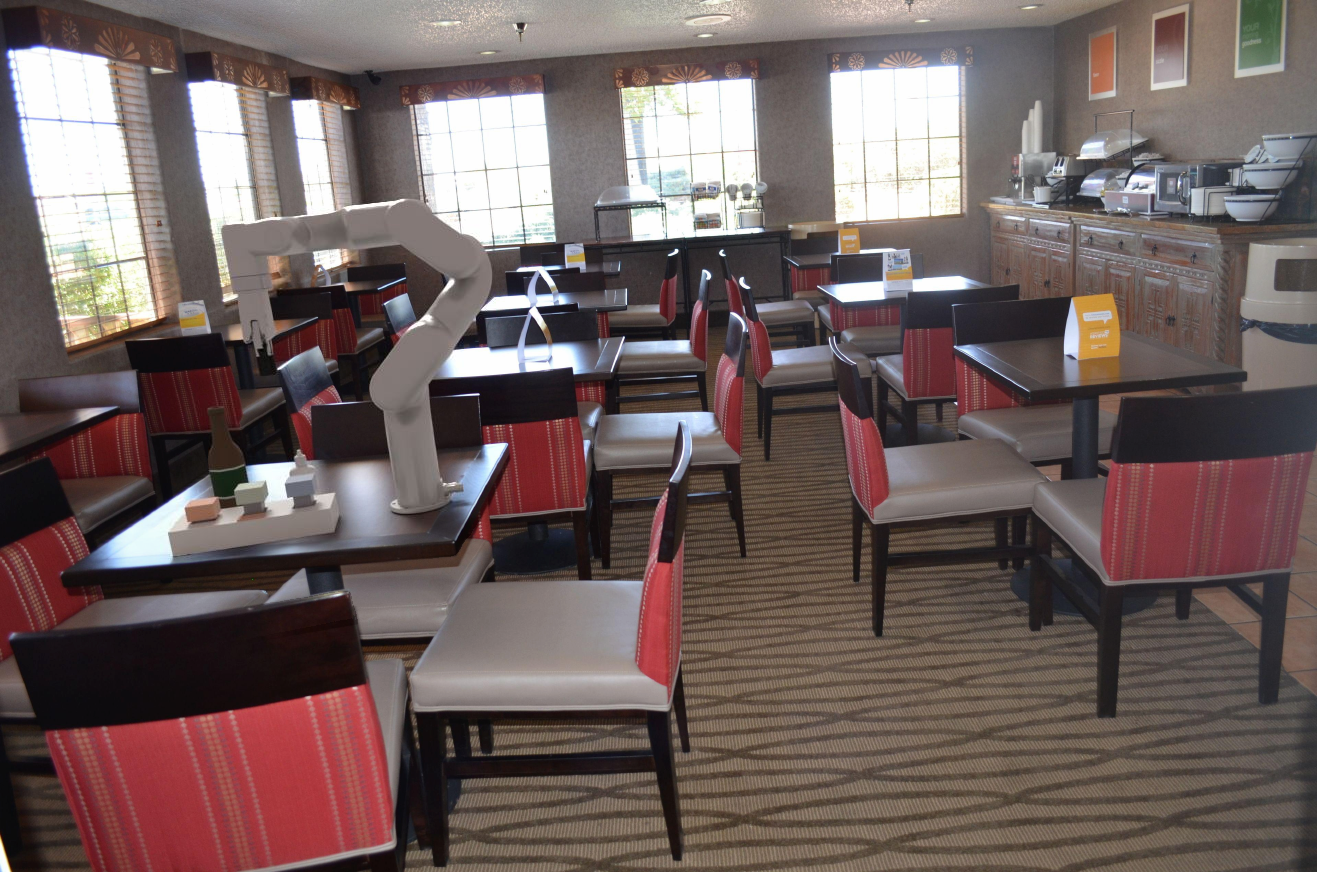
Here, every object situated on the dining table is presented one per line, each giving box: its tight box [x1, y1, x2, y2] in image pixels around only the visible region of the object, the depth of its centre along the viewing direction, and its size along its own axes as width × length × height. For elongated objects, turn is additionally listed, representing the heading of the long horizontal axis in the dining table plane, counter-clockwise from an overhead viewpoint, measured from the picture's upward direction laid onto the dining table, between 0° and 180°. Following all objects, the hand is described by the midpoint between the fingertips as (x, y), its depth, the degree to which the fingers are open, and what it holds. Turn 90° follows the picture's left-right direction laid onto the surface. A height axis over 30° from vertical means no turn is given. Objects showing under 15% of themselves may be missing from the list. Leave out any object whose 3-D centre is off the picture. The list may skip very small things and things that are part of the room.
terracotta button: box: [184, 496, 221, 524], centre depth 190 cm, size 5×5×8 cm
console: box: [167, 492, 340, 557], centre depth 193 cm, size 30×12×5 cm, turn 103°
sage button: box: [234, 480, 269, 515], centre depth 192 cm, size 5×5×8 cm
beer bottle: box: [206, 405, 250, 509], centre depth 208 cm, size 8×8×24 cm
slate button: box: [284, 473, 317, 509], centre depth 194 cm, size 5×5×8 cm
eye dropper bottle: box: [288, 449, 321, 496], centre depth 213 cm, size 4×6×12 cm
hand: (268, 374), depth 195 cm, fingers closed
